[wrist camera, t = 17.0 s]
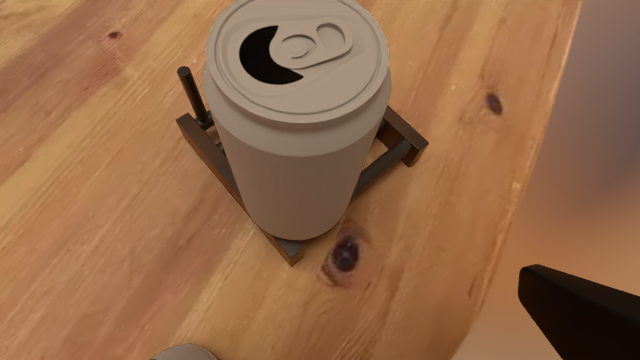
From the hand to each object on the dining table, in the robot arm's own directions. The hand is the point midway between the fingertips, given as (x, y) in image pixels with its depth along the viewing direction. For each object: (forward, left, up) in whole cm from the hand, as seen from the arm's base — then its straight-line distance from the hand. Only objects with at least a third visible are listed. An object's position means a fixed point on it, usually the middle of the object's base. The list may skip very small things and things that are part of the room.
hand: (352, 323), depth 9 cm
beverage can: (+7, -4, -11) cm, 14 cm away
